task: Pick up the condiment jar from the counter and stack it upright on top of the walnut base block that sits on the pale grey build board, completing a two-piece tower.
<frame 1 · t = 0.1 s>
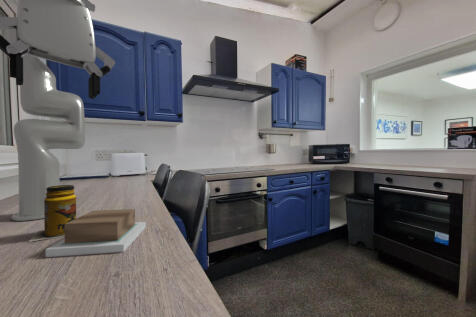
hand: (60, 91, 35), 31 cm above the table, tool pointing down, fingers open, 9 cm apart
condiment: (56, 234, 50), on the table
build board: (104, 239, 46), on the table
base block: (104, 232, 46), point 2 cm above the table, touching build board
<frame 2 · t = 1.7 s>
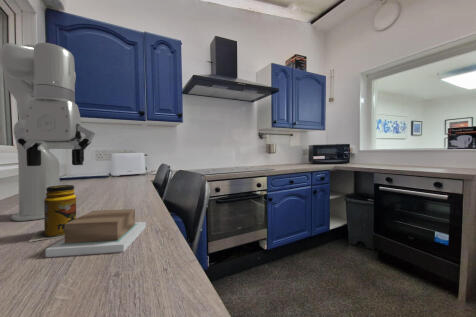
hand: (56, 165, 49), 17 cm above the table, tool pointing down, fingers open, 9 cm apart
nothing on the table moved.
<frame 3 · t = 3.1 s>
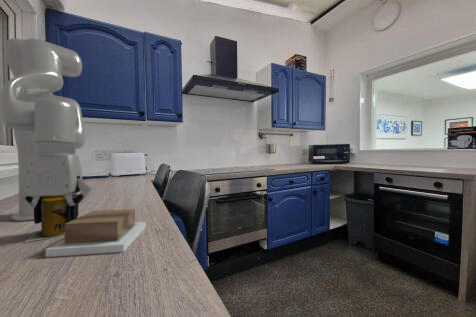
hand: (56, 220, 49), 3 cm above the table, tool pointing down, fingers closed on condiment, 6 cm apart
condiment: (53, 234, 49), on the table, touching gripper
everything else where it was.
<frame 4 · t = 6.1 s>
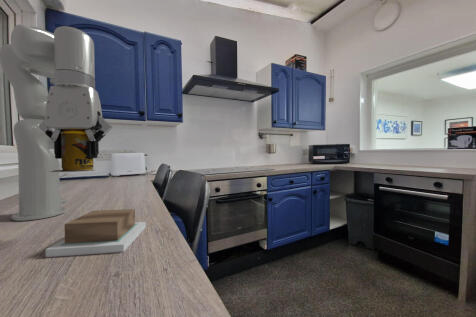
hand: (77, 157, 47), 19 cm above the table, tool pointing down, fingers closed on condiment, 6 cm apart
condiment: (73, 172, 47), point 16 cm above the table, touching gripper
everything else where it was.
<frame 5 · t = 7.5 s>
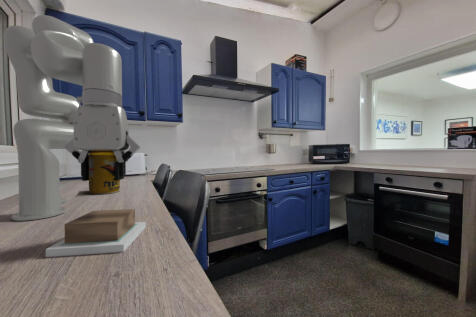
hand: (104, 179, 46), 14 cm above the table, tool pointing down, fingers closed on condiment, 6 cm apart
condiment: (100, 194, 46), point 11 cm above the table, touching gripper
everything else where it was.
when the fingers open (10 cm above the table, at t = 8.7 s): condiment drops 1 cm, resting on base block.
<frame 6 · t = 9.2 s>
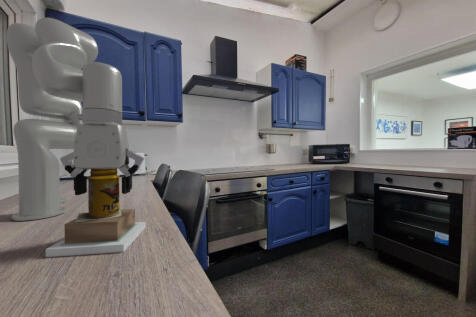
hand: (104, 193, 46), 11 cm above the table, tool pointing down, fingers open, 9 cm apart
condiment: (100, 216, 46), point 5 cm above the table, touching base block
base block: (104, 232, 46), point 2 cm above the table, touching build board, condiment
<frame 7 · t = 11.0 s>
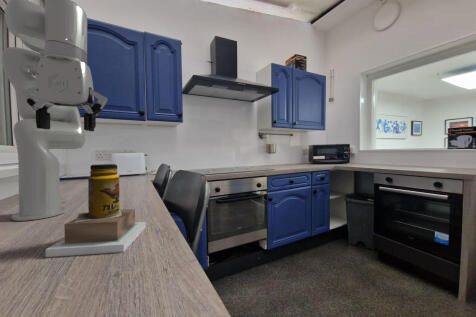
hand: (66, 129, 47), 26 cm above the table, tool pointing down, fingers open, 9 cm apart
nothing on the table moved.
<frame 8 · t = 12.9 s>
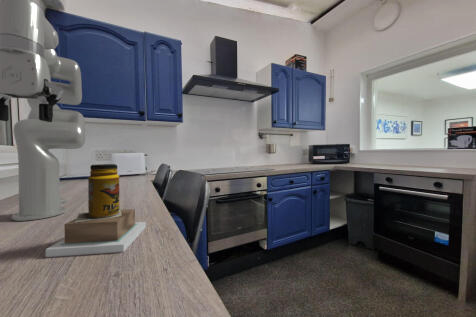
hand: (23, 120, 48), 28 cm above the table, tool pointing down, fingers open, 9 cm apart
nothing on the table moved.
at the end: condiment 1.0 cm from the base block (horizontally); condiment point 5.4 cm above the table; condiment tilted 0° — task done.
